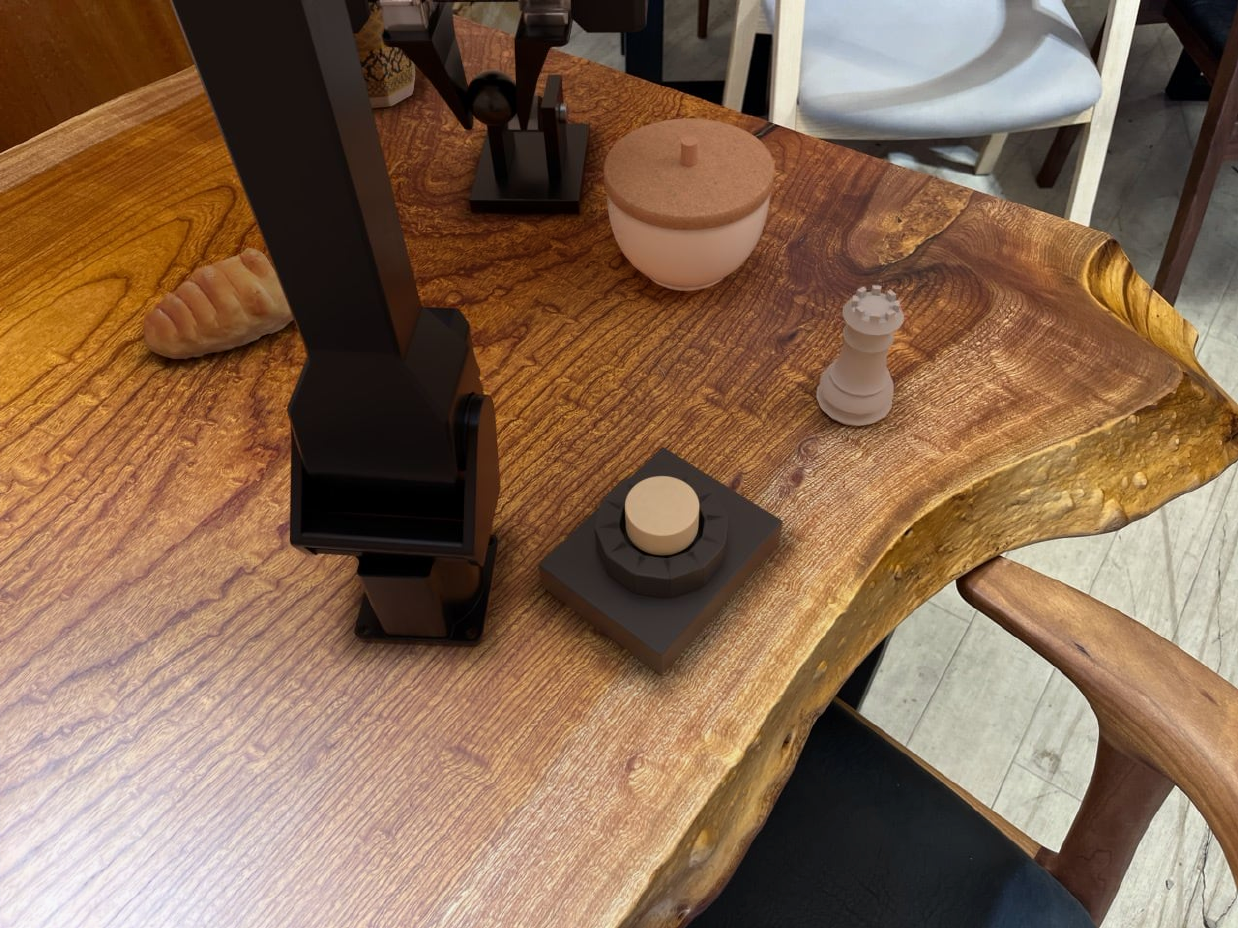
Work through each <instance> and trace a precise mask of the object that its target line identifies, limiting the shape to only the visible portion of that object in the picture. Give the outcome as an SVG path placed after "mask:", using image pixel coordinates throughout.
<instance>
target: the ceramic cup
mask: <svg viewBox="0 0 1238 928" xmlns="http://www.w3.org/2000/svg"><path fill="white" fill-rule="evenodd" d="M369 7H370V12H371V15H370V17H369V19H368V21H367V22H366V23H365V25H364V26H363V27H362V29H361V30H360V31H359V33H358V34H354V38H355V42H356V46H357V50H358V54H359V58H360V62H361V67H362V71H363V75H364V79H365V83H366V87H367V91H368V95H369V99H370V103H371V107H372V109H377V108H391V107H393V106H394V105H397V104H399V103H400V102H401V101H404V100H405V99H407V98H409V97H410V96H412V95H413V92H414V89H415V79H416V65H415V64H414V63H413V62H412V61H411V60H410V59H409V58H408V57H407V55H406V54H405V53H404V52H403V51H402V50H401V49H399V48H396V47H387V46H385V45H384V43H383V40H382V33H383V30H384V28H385V25H384V20H383V16H382V11H381V7H380V6H378V5H377V3H369Z"/></svg>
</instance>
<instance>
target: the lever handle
mask: <svg viewBox="0 0 1238 928" xmlns="http://www.w3.org/2000/svg"><path fill="white" fill-rule="evenodd" d="M542 100H543V96H541V95H540V94H537V93H535V95H534V100H533V104H532V109H531V114H530V119H529V123H528V128H527V130H521V129H520V125H519V120H518V116H517V103H516V80H514V79H513V78H512V77H511V76H510V75H509V74H508V73H506V72H504V71H503V70H498V69H493V68H492V69H486V70H482V71H481V72H478V73H477V74H476V75H475V76H474V77H473V78H472V79H471V80H470V82H469V84H468V90H467V103H468V107H469V109H470V111H471V113H472V114H473V118H474V119H475V120H477V121H478V122H480V123H481V124H482V125H486V126H487V125H489V126H501V125H504V124H506V123H508V130H510V131H513V132H543V122H542V113H541V105H542Z"/></svg>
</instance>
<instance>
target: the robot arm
mask: <svg viewBox="0 0 1238 928" xmlns="http://www.w3.org/2000/svg"><path fill="white" fill-rule="evenodd" d="M169 3H170V5H171V7H172V11H173V13H174V15H175V18H176V20H177V24H178V25H179V28H180V31H181V33H182V36H183V38H184V41H185V44H186V46H187V49H188V51H189V54H190V57H191V58H192V62H193V65H194V67H195V69H196V72H197V74H198V77H199V80H200V82H201V85H202V88H203V90H204V93H205V95H206V97H207V100H208V103H209V105H210V108H211V111H212V114H213V115H214V116H213V117H214V118H215V121H216V124H217V126H218V129H219V130H220V134H221V137H222V139H223V141H224V144H225V146H226V148H227V152H228V154H229V157H230V159H231V162H232V165H233V167H234V170H235V172H236V175H237V177H238V181H239V182H240V185H241V187H242V190H243V193H244V195H245V198H246V202H247V203H248V206H249V209H250V211H251V213H252V216H253V220H254V221H255V224H256V226H257V230H258V231H259V234H260V236H261V239H262V242H263V244H264V247H265V249H266V252H267V255H268V257H269V260H270V263H271V266H272V267H273V268H274V270H275V273H276V275H277V278H278V280H279V283H280V286H281V288H282V291H283V293H284V296H285V298H286V301H287V304H288V306H289V309H290V311H291V314H292V316H293V321H294V324H295V326H296V330H297V332H298V334H299V337H300V340H301V342H302V345H303V347H304V352H305V355H306V358H305V362H304V364H303V367H302V369H301V371H300V374H299V375H298V376H299V377H298V379H297V381H296V384H295V386H294V388H293V392H292V394H291V397H290V399H289V401H288V404H287V407H286V412H287V416H288V420H289V422H290V423H289V424H290V425H289V427H290V494H289V495H290V496H289V497H290V499H289V501H290V502H289V506H290V507H289V543H290V545H291V547H293V548H294V549H296V550H297V551H299V552H300V553H302V554H304V555H305V556H318V555H331V556H332V555H333V556H347V557H348V556H350V557H353V560H354V562H355V564H356V566H357V568H356V574H357V577H358V579H359V581H360V583H361V586H362V588H363V590H364V591H363V595H362V600H361V602H360V605H359V610H358V614H357V618H356V622H355V625H354V630H353V633H354V635H355V637H356V639H357V640H358V641H359V642H361V643H373V644H375V643H376V644H399V645H401V644H402V645H422V646H423V645H424V646H425V645H427V646H430V645H431V646H449V647H477V646H478V645H481V643H482V642H483V641H484V638H485V632H486V626H487V622H488V615H489V607H490V603H491V597H492V591H493V584H494V579H495V573H496V568H497V562H498V557H499V551H500V550H499V549H500V542H499V539H498V537H497V536H496V535H494V534H492V529H493V525H494V522H495V521H494V520H495V516H496V511H497V506H498V501H499V498H500V494H501V471H500V458H499V445H498V444H499V443H498V431H497V418H496V417H497V416H496V408H495V402H494V399H493V396H491V394H485V393H484V389H483V384H482V381H481V378H480V377H481V368H480V366H479V364H478V362H477V359H476V355H475V352H474V351H475V350H474V345H473V344H474V343H473V337H472V331H471V330H472V329H471V324H470V322H469V320H468V318H467V317H466V316H465V315H464V314H463V312H462V310H461V309H460V308H459V307H442V306H424V305H423V304H422V301H421V298H420V295H419V291H418V286H417V283H416V280H415V275H414V271H413V267H412V263H411V258H410V255H409V251H408V248H407V244H406V239H405V236H404V235H405V234H404V232H403V227H402V223H401V219H400V215H399V211H398V207H397V202H396V199H395V196H394V195H395V194H394V191H393V187H392V183H391V180H390V179H391V178H390V175H389V170H388V167H387V163H386V159H385V155H384V152H383V151H384V150H383V147H382V142H381V139H380V136H379V135H380V134H379V131H378V127H377V124H376V119H375V115H374V110H373V108H372V107H371V103H370V99H369V95H368V91H367V87H366V83H365V79H364V75H363V71H362V67H361V62H360V58H359V54H358V50H357V46H356V42H355V38H354V34H358V33H359V31H360V30H361V29H362V27H363V26H364V25H365V23H366V22H367V21H368V19H369V17H370V15H371V12H370V7H369V3H377V5H378V6H380V7H381V11H382V16H383V20H384V25H385V28H384V30H383V33H382V40H383V43H384V45H385V46H387V47H396V48H399V49H401V50H402V51H403V52H404V53H405V54H406V55H407V57H408V58H409V59H410V60H411V61H412V62H413V63H414V64H415V67H416V68H417V69H418V70H419V71H420V73H422V74H423V75H424V77H425V78H426V79H427V80H428V81H429V83H430V84H431V85H433V88H434V89H435V90H436V92H437V93H438V94H439V96H440V97H441V99H442V100H443V101H444V103H445V104H446V106H447V107H448V108H449V110H450V111H451V113H452V114H453V115H454V117H455V119H457V120H458V122H459V123H460V125H461V127H462V128H463V129H464V130H465V131H472V129H473V126H474V123H475V121H474V120H475V117H474V116H473V114H472V113H471V111H470V109H469V107H468V103H467V90H468V86H469V84H468V80H467V75H466V71H465V67H464V63H463V60H462V55H461V51H460V47H459V43H458V39H457V35H456V31H455V23H454V13H453V12H454V11H453V3H518V8H519V9H518V10H519V12H521V13H520V16H519V21H518V22H517V23H518V24H517V28H516V31H515V34H514V38H513V43H514V44H513V45H514V71H515V72H514V73H515V83H516V103H517V116H518V120H519V125H520V129H521V130H527V128H528V123H529V119H530V114H531V109H532V104H533V100H534V95H535V94H536V90H537V85H538V81H539V77H540V75H541V73H542V70H543V68H544V65H545V62H546V60H547V57H548V55H549V52H550V50H551V49H552V48H562V47H565V46H567V45H568V44H569V43H570V39H571V35H572V29H573V24H574V23H576V25H578V26H579V27H580V28H581V29H582V30H583V31H584V32H586V34H626V33H627V34H629V33H631V34H634V33H635V34H636V33H638V32H640V31H642V30H644V29H646V28H647V20H648V19H647V18H648V6H649V0H169ZM489 543H491V545H489ZM365 630H367V632H365V633H363V631H365ZM473 634H476V636H474V637H470V636H471V635H473Z"/></svg>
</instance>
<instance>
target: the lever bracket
mask: <svg viewBox="0 0 1238 928" xmlns="http://www.w3.org/2000/svg"><path fill="white" fill-rule="evenodd" d="M542 98H543V100H542V105H541V113H542V122H543V132H513V131H510V130H508V123H506V124H504V125H501V126H489V125H486V133H485V137H484V141H483V144H482V148H481V153H480V155H479V160H478V164H477V168H476V171H475V176H474V179H473V183H472V187H471V191H470V193H469V198H468V204H469V208H470V213H471V214H545V215H547V214H549V215H550V214H552V215H553V214H554V215H555V214H561V215H562V214H563V215H580V212H581V205H582V200H583V191H584V186H585V185H584V184H585V178H586V170H587V164H588V157H589V149H590V143H591V124H590V123H569V105H568V103H565V102H564V89H563V77H562V74H547V76H546V82H545V86H544V92H543V96H542Z"/></svg>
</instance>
